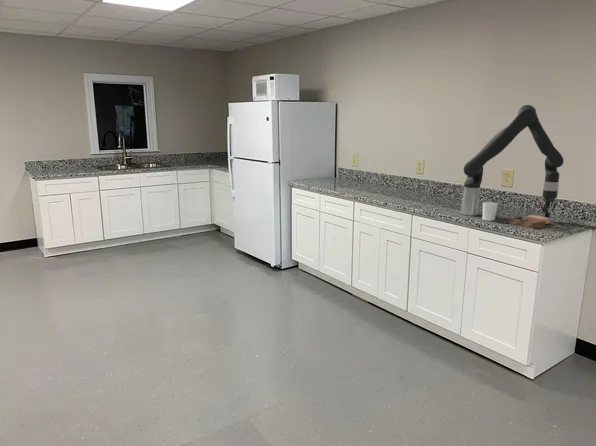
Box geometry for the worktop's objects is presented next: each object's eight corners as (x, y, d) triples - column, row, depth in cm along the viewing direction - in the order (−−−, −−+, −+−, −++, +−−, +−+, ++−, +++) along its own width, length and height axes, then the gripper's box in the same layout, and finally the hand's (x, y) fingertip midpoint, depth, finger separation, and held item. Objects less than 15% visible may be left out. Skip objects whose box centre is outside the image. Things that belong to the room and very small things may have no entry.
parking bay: (509, 223, 264) (509, 218, 263) (520, 221, 269) (520, 216, 268) (533, 228, 251) (534, 223, 251) (545, 226, 257) (545, 221, 256)
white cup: (492, 218, 277) (493, 201, 275) (498, 221, 270) (499, 204, 268) (479, 218, 277) (480, 201, 275) (484, 221, 269) (486, 204, 267)
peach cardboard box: (525, 222, 267) (525, 216, 267) (532, 220, 271) (533, 215, 270) (541, 225, 259) (542, 219, 258) (549, 224, 263) (549, 218, 262)
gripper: (550, 187, 272) (547, 216, 276) (537, 189, 266) (534, 218, 269) (563, 189, 266) (559, 218, 270) (550, 191, 259) (546, 221, 263)
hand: (546, 218), depth 270 cm, fingers closed
